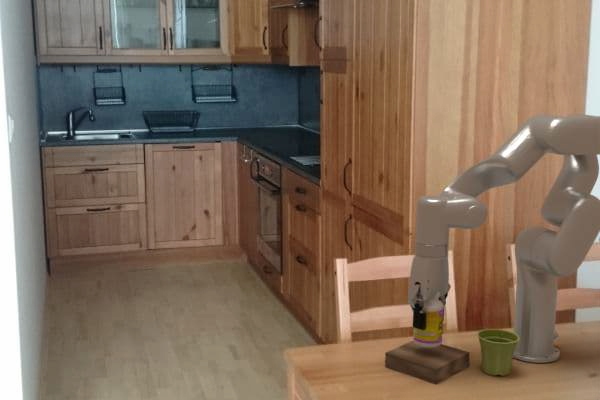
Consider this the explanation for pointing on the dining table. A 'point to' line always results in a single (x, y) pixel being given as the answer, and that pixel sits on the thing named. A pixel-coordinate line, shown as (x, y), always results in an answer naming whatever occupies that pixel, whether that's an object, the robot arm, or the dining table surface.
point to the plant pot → (497, 350)
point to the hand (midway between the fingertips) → (428, 324)
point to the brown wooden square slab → (427, 361)
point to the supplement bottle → (431, 324)
